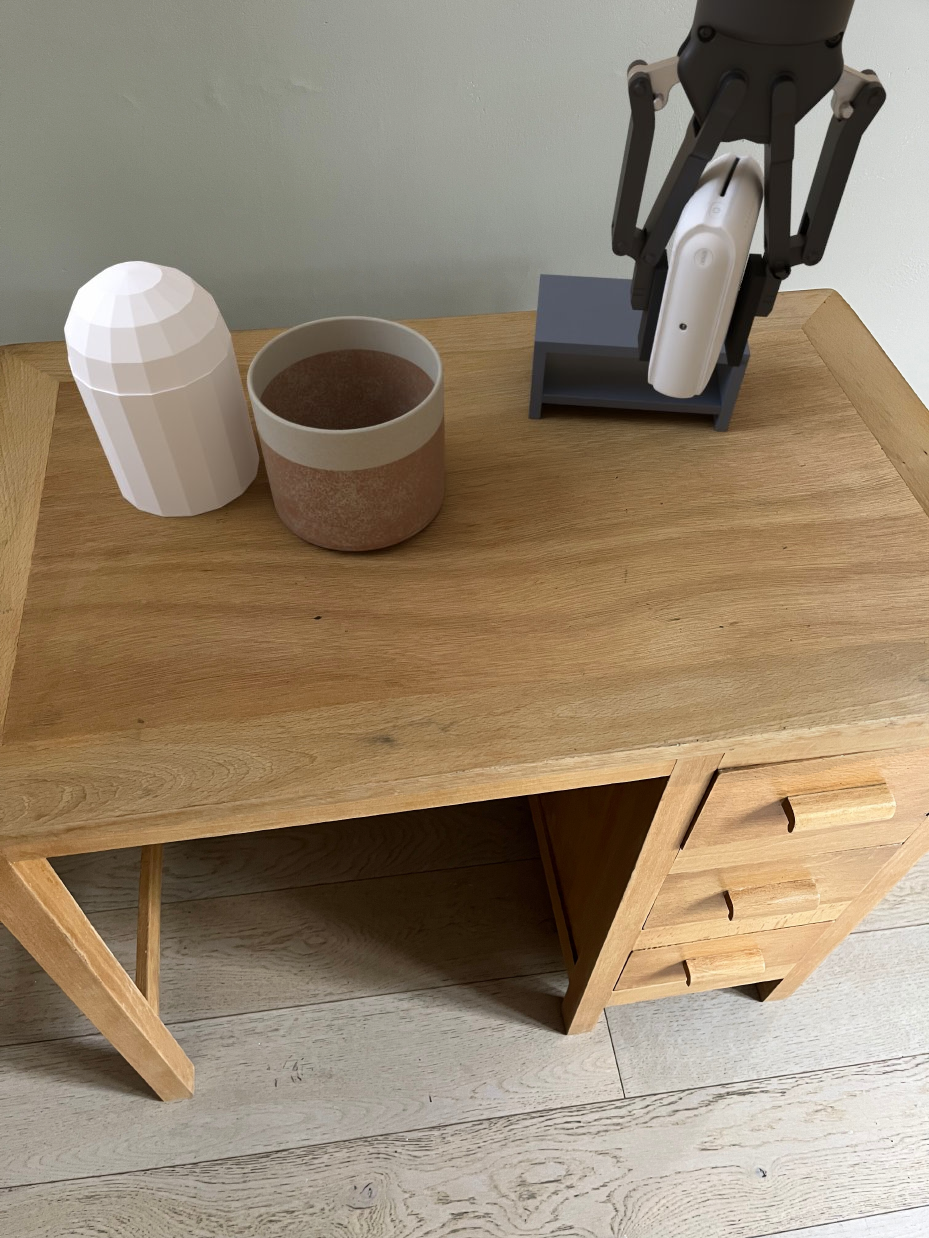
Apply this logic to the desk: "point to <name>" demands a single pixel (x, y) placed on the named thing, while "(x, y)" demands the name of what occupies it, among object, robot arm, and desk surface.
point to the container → (162, 388)
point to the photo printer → (705, 274)
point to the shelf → (609, 354)
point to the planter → (351, 430)
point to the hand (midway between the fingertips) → (687, 351)
